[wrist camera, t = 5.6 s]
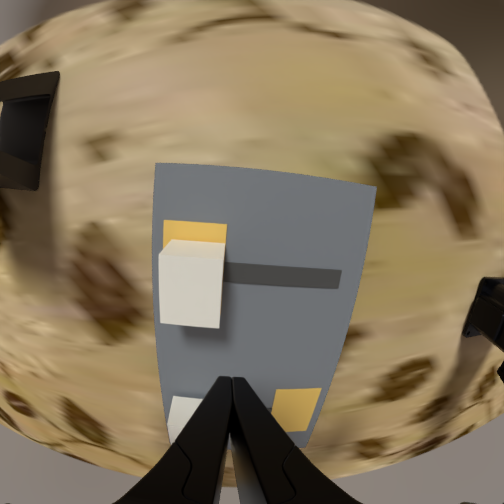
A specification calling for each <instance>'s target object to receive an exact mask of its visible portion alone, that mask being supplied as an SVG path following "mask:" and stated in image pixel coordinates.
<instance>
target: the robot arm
mask: <svg viewBox="0 0 504 504" xmlns="http://www.w3.org/2000/svg"><path fill="white" fill-rule="evenodd" d="M477 335H483V336H484V337H486V338H487V339H488V340H489V341H491V342H492V343H493V344H494V345H495V346H497V347H498V348H499V349H500V350H501V351H503V352H504V278H500V277H484V278H483V279H482V280H481V283H480V287H479V290H478V293H477V296H476V299H475V302H474V305H473V308H472V311H471V314H470V316H469V319H468V322H467V324H466V327H465V329H464V332H463V336H465V337H466V338H467V337H472V336H477ZM497 373H498V375H499V376H500V378H501V380H502V381H503V383H504V361H503V363H502V364H501V366H500V367H499V368H498V370H497ZM229 434H230V445H231V451H232V458H233V464H234V470H235V476H236V482H237V488H238V493H239V499H240V504H363V503H361V502H359V501H357V500H355V499H354V498H352V497H351V496H350V495H348V494H347V493H346V492H344V491H343V490H342V489H341V488H339V487H338V486H337V485H336V484H335V483H334V482H332V481H331V480H330V479H329V478H328V477H326V476H325V475H324V474H323V473H322V472H321V471H320V470H319V469H318V468H316V467H315V466H314V465H313V464H312V463H311V462H310V460H309V459H308V458H307V457H306V456H305V455H304V454H303V453H302V452H301V450H300V449H299V448H298V447H297V446H296V445H295V443H294V442H293V441H292V439H291V438H290V437H289V436H288V434H287V433H286V432H285V431H284V429H283V428H282V427H281V426H280V424H279V423H278V422H277V420H276V419H275V418H274V417H273V415H272V414H271V413H270V411H269V410H268V409H267V407H266V406H265V405H264V403H263V402H262V401H261V399H260V398H259V397H258V395H257V394H256V393H255V391H254V390H253V388H252V387H251V386H250V384H249V383H248V382H247V380H246V379H245V378H244V377H232V378H231V377H230V376H218V377H217V379H216V380H215V382H214V383H213V385H212V386H211V388H210V389H209V391H208V392H207V394H206V395H205V397H204V398H203V400H202V401H201V403H200V404H199V406H198V407H197V409H196V410H195V412H194V413H193V415H192V416H191V418H190V419H189V421H188V422H187V423H186V425H185V426H184V428H183V429H182V431H181V432H180V434H179V435H178V436H177V438H176V439H175V442H173V443H172V445H171V446H170V447H169V449H168V450H167V452H166V453H165V454H164V455H163V457H162V458H161V459H160V460H159V462H158V463H157V464H156V465H155V466H154V467H153V468H152V469H151V470H150V471H149V472H148V473H147V474H146V475H145V476H144V477H143V478H142V479H141V480H140V481H139V482H138V483H137V484H136V485H135V486H133V487H132V488H131V489H130V490H129V491H128V492H127V493H126V494H125V495H124V496H122V497H121V498H120V499H119V500H117V501H116V502H114V503H112V504H219V500H220V493H221V487H222V481H223V474H224V468H225V461H226V455H227V448H228V441H229ZM6 504H9V503H6ZM460 504H475V503H469V502H462V503H460ZM503 504H504V503H503Z"/></svg>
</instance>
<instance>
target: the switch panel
mask: <svg viewBox="0 0 504 504" xmlns="http://www.w3.org/2000/svg"><path fill="white" fill-rule="evenodd" d="M376 188H377V187H374V186H369V185H364V184H358V183H353V182H347V181H341V180H335V179H329V178H323V177H316V176H309V175H302V174H295V173H287V172H279V171H270V170H261V169H251V168H240V167H228V166H214V165H198V164H177V163H156V165H155V179H154V195H153V221H152V281H153V306H154V323H155V337H156V348H157V358H158V368H159V376H160V384H161V392H162V399H163V406H164V412H165V418H166V424H167V423H168V418H169V413H170V408H171V404H172V399H173V396H178V397H187V398H197V399H203V398H204V397H205V395H206V394H207V392H208V391H209V389H210V388H211V386H212V385H213V383H214V382H215V380H216V379H217V377H218V376H230V377H231V378H232V377H244V378H245V379H246V380H247V382H248V383H249V384H250V386H251V387H252V388H253V390H254V391H255V393H256V394H257V395H258V397H259V398H260V399H261V401H262V402H263V403H264V405H265V406H266V407H267V409H268V410H269V411H270V413H271V414H272V415H273V417H274V418H275V419H276V420H277V422H278V423H279V424H280V426H281V427H282V428H283V429H284V431H285V432H286V433H287V434H288V436H289V437H290V438H291V439H292V441H293V442H294V443H295V445H296V446H297V447H298V448H304V447H306V445H307V443H308V441H309V438H310V436H311V434H312V431H313V429H314V426H315V424H316V421H317V419H318V416H319V414H320V411H321V409H322V406H323V403H324V401H325V398H326V395H327V392H328V390H329V387H330V384H331V381H332V378H333V375H334V372H335V369H336V366H337V363H338V360H339V357H340V354H341V351H342V347H343V344H344V341H345V337H346V334H347V330H348V327H349V323H350V319H351V316H352V312H353V308H354V304H355V300H356V296H357V292H358V288H359V283H360V279H361V275H362V270H363V265H364V260H365V255H366V250H367V245H368V240H369V234H370V228H371V222H372V216H373V210H374V203H375V196H376ZM172 239H175V240H188V241H201V242H214V243H225V252H224V266H223V280H222V296H221V310H220V324H219V328H207V327H195V326H184V325H174V324H165V323H160V305H159V253H160V252H161V251H162V250H163V249H164V248H165V247H166V245H167V244H168V243H169V242H170V241H171V240H172ZM167 430H168V427H167ZM168 435H169V433H168ZM169 441H170V438H169ZM170 444H171V443H170ZM227 449H229V450H231V445H230V434H229V441H228V448H227Z"/></svg>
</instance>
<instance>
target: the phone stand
mask: <svg viewBox="0 0 504 504" xmlns="http://www.w3.org/2000/svg"><path fill="white" fill-rule="evenodd" d="M59 76H60V73H59V71H54V72H47V73H41V74H35V75H29V76H24V77H19V78H14V79H10V80H6V81H2V82H0V102H1V101H2V102H3V108H2V112H1V117H0V188H10V189H20V190H30V191H37V190H38V187H39V178H40V168H41V160H42V153H43V146H44V140H45V134H46V132H45V128H46V127H47V124H48V119H49V114H50V110H51V106H52V102H53V98H54V94H55V90H56V87H57V83H58V80H59Z"/></svg>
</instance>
